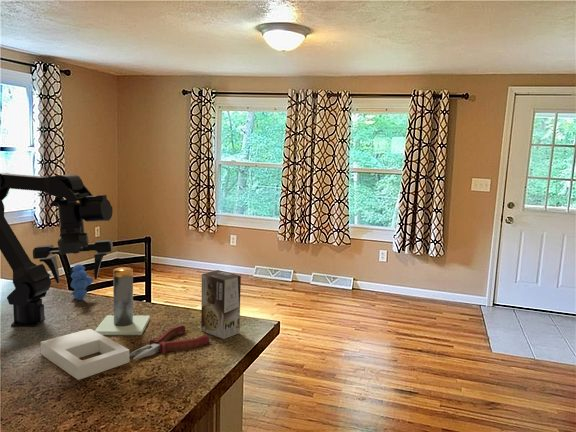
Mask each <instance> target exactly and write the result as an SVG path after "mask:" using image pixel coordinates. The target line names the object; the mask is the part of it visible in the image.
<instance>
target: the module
mask: <svg viewBox="0 0 576 432" xmlns="http://www.w3.org/2000/svg"><path fill="white" fill-rule="evenodd" d="M112 274H113V277H112V278H113V282H112V283H113V287H112V288H113V289H112V290H113V315H114V325H115V326H128V325H131V324H132V323H133V316H134V269H133V268H132V267H125V266H123V267H117V268H114V269H113V271H112Z"/></svg>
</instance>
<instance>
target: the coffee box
mask: <svg viewBox="0 0 576 432" xmlns="http://www.w3.org/2000/svg"><path fill="white" fill-rule="evenodd" d="M241 279H242V276H241V275H240V274H235V273H231V272H227V271H223V270H219V269H217V270H212V271H209V272H206V273H202V274H201V308H200V309H201V313H200V314H201V321H200V323H201V324H200V325H201V327H200V329H201V332H204V333H207V334H209V335H211V336H214V337H217V338H220V339H223V340H225V339H227V338H231V337H233V336H235V335H238V334H240V328H241V327H240V325H241V323H240V320H241V319H240V318H241V285H242V284H241V282H242V281H241Z"/></svg>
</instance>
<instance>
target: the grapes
mask: <svg viewBox="0 0 576 432" xmlns="http://www.w3.org/2000/svg"><path fill="white" fill-rule="evenodd" d="M85 270H86V267H85V266H84V265H83V264H81V263H79V264H76V265H74V266H73V268H72V269H71V271H72V273H71V275H70V278H72V280H71V282H70V287H71V288H72V289H74V290H73V291H72V292H71V295H72V296H73V297H74V299H75V300H77V301H82V300H83V299H84V298H85V296H86V295H87V294H88V291H87V290H86V289H87V288H88V286H90V285H92V283H93V282H94V279H93V278H92V277H91V276H89V275H88V273H87V272H86V271H85Z"/></svg>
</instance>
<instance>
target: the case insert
mask: <svg viewBox="0 0 576 432" xmlns="http://www.w3.org/2000/svg"><path fill="white" fill-rule="evenodd" d="M97 353H100V354H99V355H96V356H92V357H89V358H86V359H83V360H82V359H80V358H84V357H87V356H89V355H93V354H97ZM129 353H130V349H128V348H127V347H126V346H123V345H121V344H119V343H118V342H116V341H114V340H112V339H110V338H109V337H107V336H106V335H101V334H99V333H97V332H96V331H95V330H93V329H92V328H87V329H83V330H80V331H75V332H72V333H69V334H65V335H60V336H57V337H52V338H50V339H46V340H42V341H40V354H41V355H42V356H43V357H44V358H46V359H48V360H49V361H51V362H52V363H53V364H54V365H56V366H57V367H59V368H60V369H62V370H63V371H65V372H66V373H67V374H68V375H70V376H71V377H73V378H75V380H77V381H79V380H83V379H85V378H89V377H91V376H94V375H96V374H99V373H102V372H106V371H107V370H110V369H113V368H117V367H119V366H123V365H125V364H128V363H130V356H129Z"/></svg>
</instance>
